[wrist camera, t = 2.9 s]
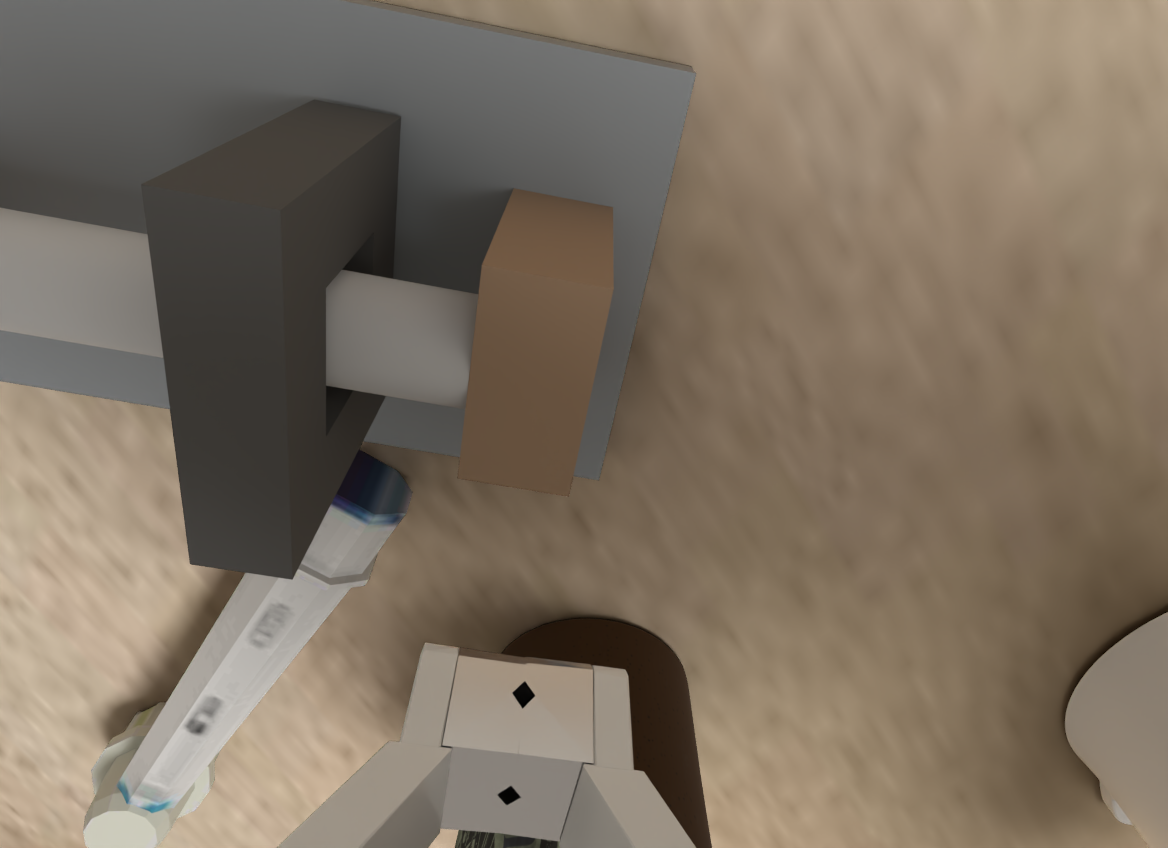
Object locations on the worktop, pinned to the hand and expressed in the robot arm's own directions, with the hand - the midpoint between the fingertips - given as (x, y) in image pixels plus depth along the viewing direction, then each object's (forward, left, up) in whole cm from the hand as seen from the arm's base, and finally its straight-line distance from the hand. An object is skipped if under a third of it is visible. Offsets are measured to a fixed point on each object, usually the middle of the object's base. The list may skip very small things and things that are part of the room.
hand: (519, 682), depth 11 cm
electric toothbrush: (+12, +20, -17) cm, 29 cm away
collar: (+7, 0, -15) cm, 16 cm away
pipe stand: (+11, 0, -17) cm, 20 cm away
